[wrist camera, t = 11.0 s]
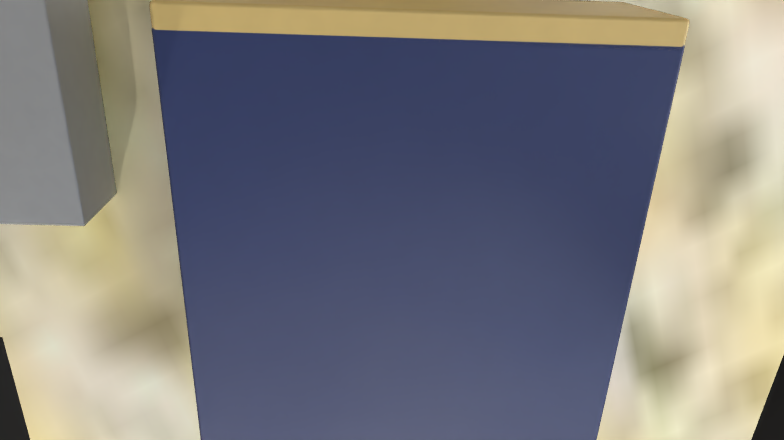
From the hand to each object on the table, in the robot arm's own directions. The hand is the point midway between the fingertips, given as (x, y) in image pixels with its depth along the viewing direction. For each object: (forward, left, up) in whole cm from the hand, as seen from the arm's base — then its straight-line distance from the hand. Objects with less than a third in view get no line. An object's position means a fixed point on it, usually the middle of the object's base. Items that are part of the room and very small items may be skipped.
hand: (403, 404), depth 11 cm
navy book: (0, 0, -5) cm, 5 cm away
